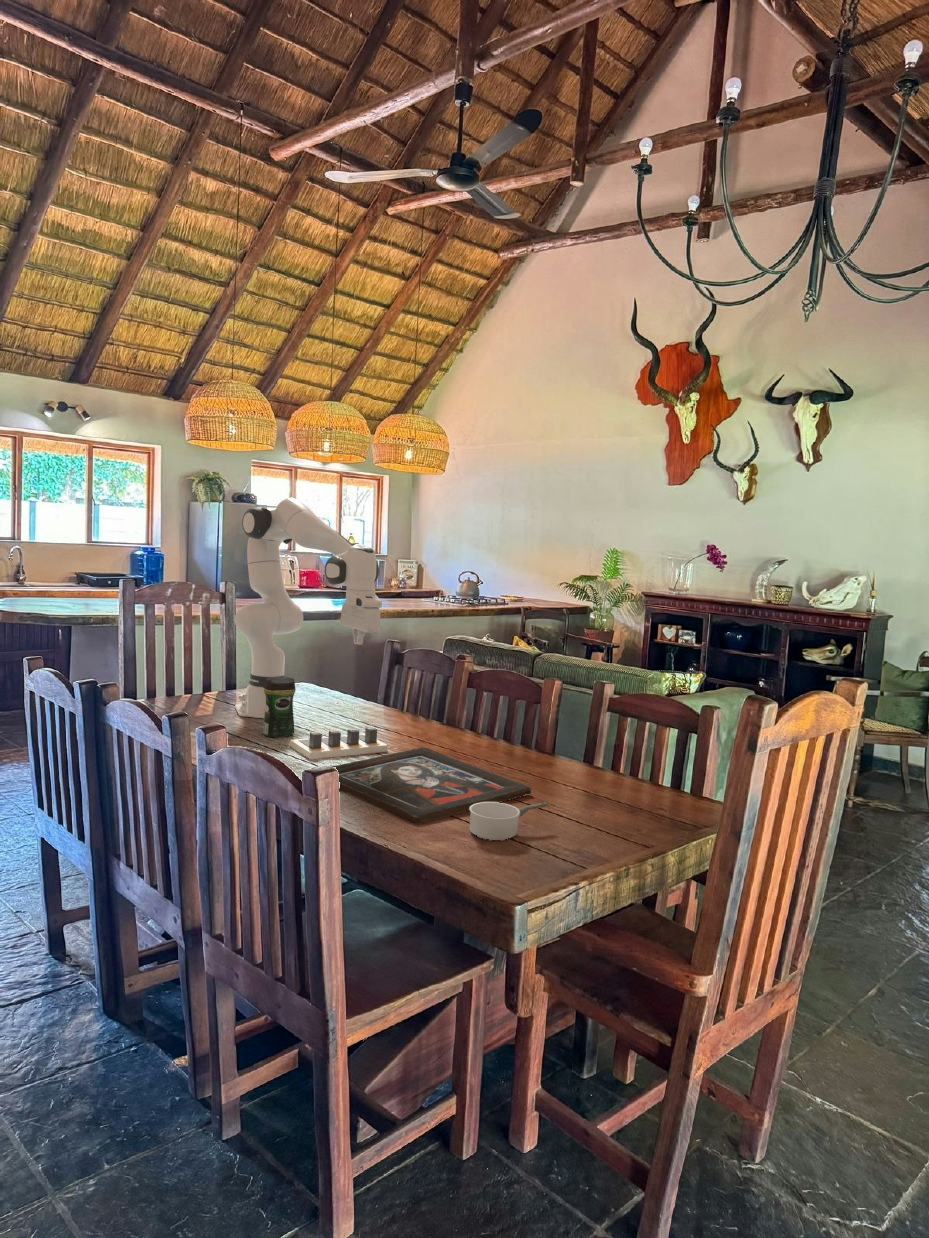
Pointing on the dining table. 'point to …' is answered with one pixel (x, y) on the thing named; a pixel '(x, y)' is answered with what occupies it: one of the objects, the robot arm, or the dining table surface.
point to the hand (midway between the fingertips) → (358, 643)
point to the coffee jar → (279, 707)
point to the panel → (337, 747)
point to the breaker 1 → (315, 739)
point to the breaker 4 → (371, 735)
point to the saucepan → (497, 819)
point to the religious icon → (424, 784)
